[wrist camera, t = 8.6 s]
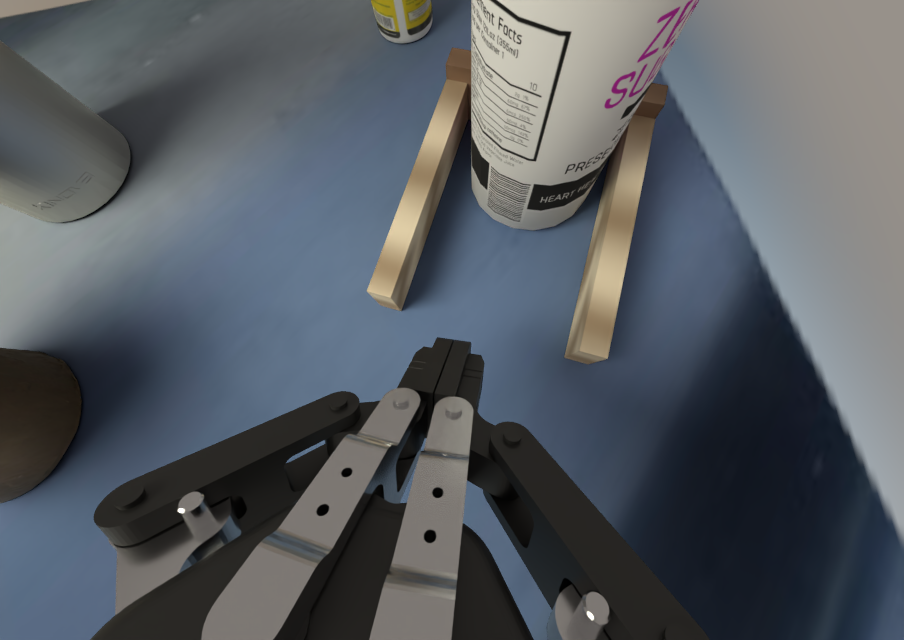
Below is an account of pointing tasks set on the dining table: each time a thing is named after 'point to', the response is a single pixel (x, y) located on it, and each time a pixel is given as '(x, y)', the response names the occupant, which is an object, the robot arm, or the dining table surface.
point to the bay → (609, 230)
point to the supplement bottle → (403, 19)
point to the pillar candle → (34, 418)
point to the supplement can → (557, 96)
